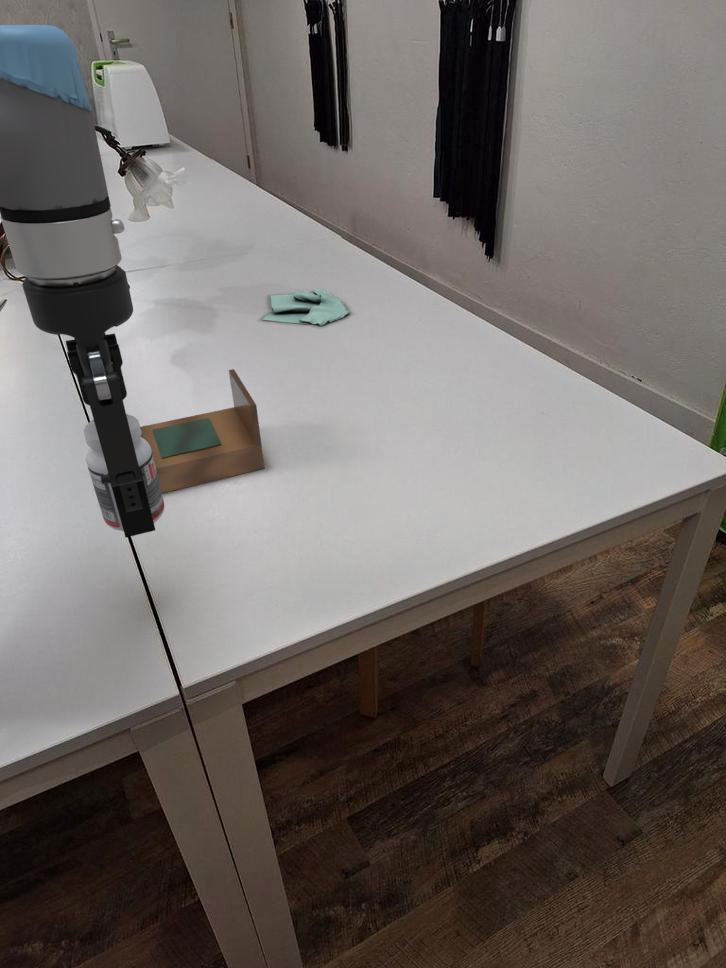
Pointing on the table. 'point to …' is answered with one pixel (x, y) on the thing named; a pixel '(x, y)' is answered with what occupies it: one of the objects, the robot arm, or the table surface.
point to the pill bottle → (99, 468)
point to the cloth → (306, 308)
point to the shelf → (207, 443)
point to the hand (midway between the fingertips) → (135, 512)
